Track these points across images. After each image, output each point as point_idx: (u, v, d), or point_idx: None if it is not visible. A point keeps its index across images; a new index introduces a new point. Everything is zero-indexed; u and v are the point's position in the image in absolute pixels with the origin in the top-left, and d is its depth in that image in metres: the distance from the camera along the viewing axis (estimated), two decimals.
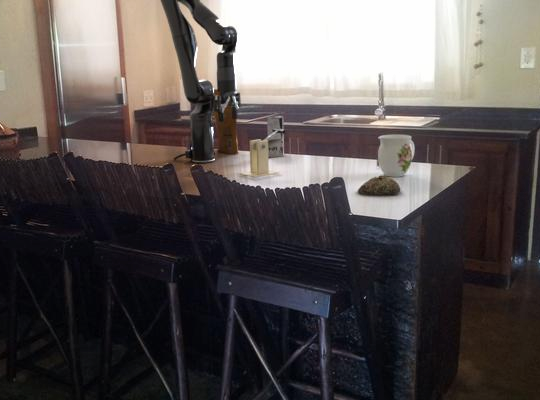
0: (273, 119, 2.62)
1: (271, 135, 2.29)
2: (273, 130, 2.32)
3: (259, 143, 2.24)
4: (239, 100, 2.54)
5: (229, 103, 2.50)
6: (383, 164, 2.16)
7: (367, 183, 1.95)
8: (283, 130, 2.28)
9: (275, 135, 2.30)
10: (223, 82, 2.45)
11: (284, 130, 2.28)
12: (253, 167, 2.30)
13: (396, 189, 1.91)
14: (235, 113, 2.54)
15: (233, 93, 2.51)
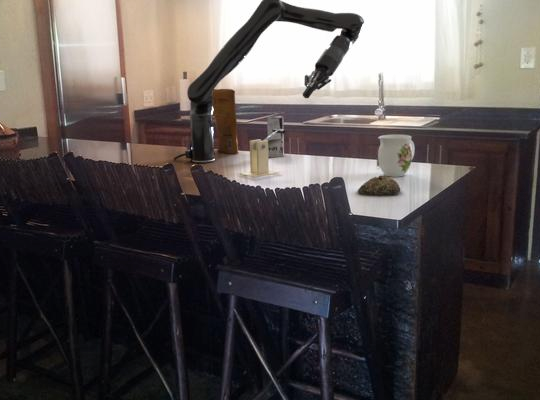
0: (273, 119, 2.62)
1: (271, 135, 2.29)
2: (273, 130, 2.32)
3: (259, 143, 2.24)
4: None
5: None
6: (383, 164, 2.16)
7: (367, 183, 1.95)
8: (283, 130, 2.28)
9: (275, 135, 2.30)
10: (336, 65, 2.35)
11: (284, 130, 2.28)
12: (253, 167, 2.30)
13: (396, 189, 1.91)
14: None
15: None
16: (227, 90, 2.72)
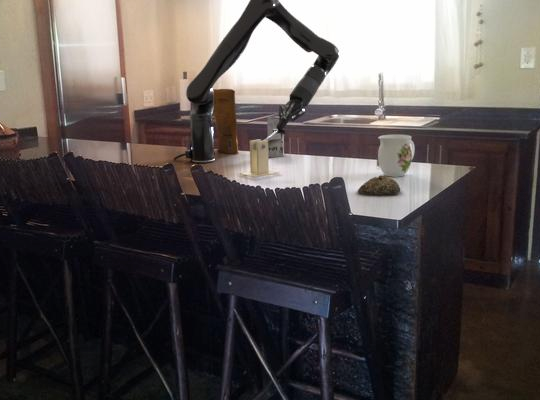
0: (273, 119, 2.62)
1: (271, 135, 2.29)
2: (273, 130, 2.32)
3: (259, 143, 2.24)
4: None
5: None
6: (383, 164, 2.16)
7: (367, 183, 1.95)
8: (283, 130, 2.28)
9: (275, 135, 2.30)
10: (311, 96, 2.31)
11: (284, 130, 2.28)
12: (253, 167, 2.30)
13: (396, 189, 1.91)
14: None
15: None
16: (227, 90, 2.72)
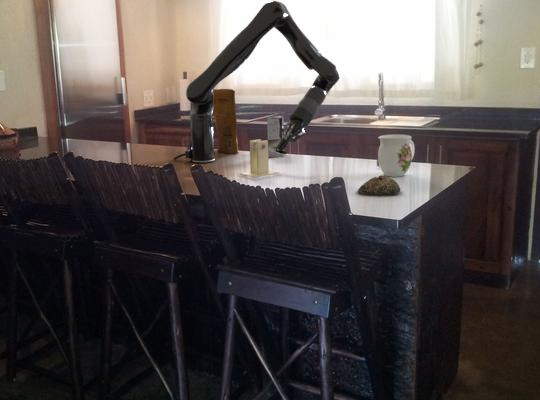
0: (273, 119, 2.62)
1: (273, 148, 2.30)
2: None
3: (259, 143, 2.24)
4: None
5: None
6: (383, 164, 2.16)
7: (367, 183, 1.95)
8: (285, 151, 2.30)
9: (275, 151, 2.31)
10: (311, 117, 2.33)
11: None
12: (253, 167, 2.30)
13: (396, 189, 1.91)
14: None
15: None
16: (227, 90, 2.72)
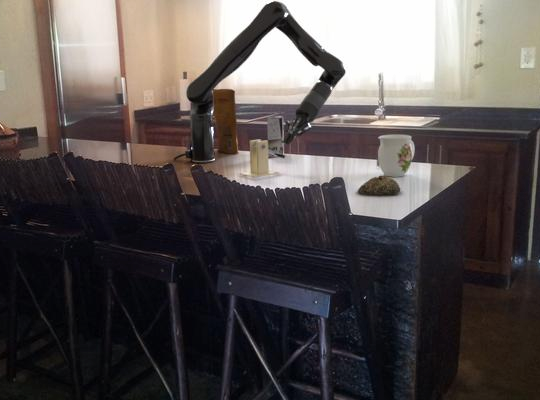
0: (273, 119, 2.62)
1: None
2: None
3: (259, 143, 2.24)
4: None
5: None
6: (383, 164, 2.16)
7: (367, 183, 1.95)
8: (284, 155, 2.30)
9: (274, 154, 2.31)
10: (317, 111, 2.34)
11: (284, 156, 2.31)
12: (253, 167, 2.30)
13: (396, 189, 1.91)
14: None
15: None
16: (227, 90, 2.72)
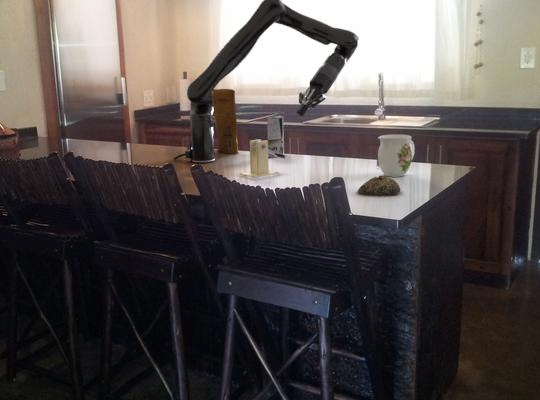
0: (273, 119, 2.62)
1: None
2: None
3: (259, 143, 2.24)
4: None
5: None
6: (383, 164, 2.16)
7: (367, 183, 1.95)
8: (284, 155, 2.30)
9: (274, 154, 2.31)
10: (331, 82, 2.35)
11: (284, 156, 2.31)
12: (253, 167, 2.30)
13: (396, 189, 1.91)
14: None
15: None
16: (227, 90, 2.72)
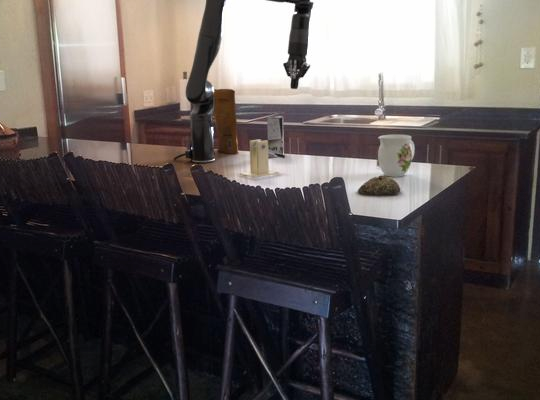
0: (273, 119, 2.62)
1: None
2: None
3: (259, 143, 2.24)
4: None
5: None
6: (383, 164, 2.16)
7: (367, 183, 1.95)
8: (284, 155, 2.30)
9: (274, 154, 2.31)
10: (307, 45, 2.36)
11: (284, 156, 2.31)
12: (253, 167, 2.30)
13: (396, 189, 1.91)
14: None
15: None
16: (227, 90, 2.72)
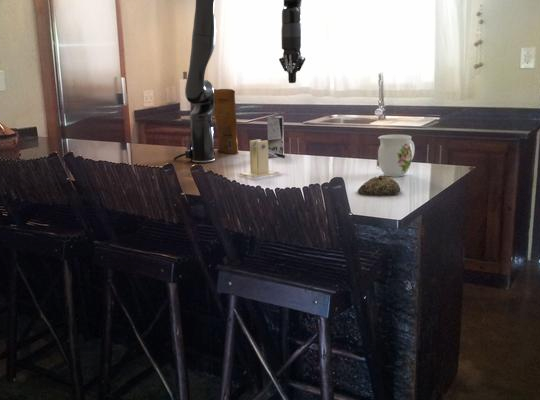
0: (273, 119, 2.62)
1: None
2: None
3: (259, 143, 2.24)
4: None
5: None
6: (383, 164, 2.16)
7: (367, 183, 1.95)
8: (284, 155, 2.30)
9: (274, 154, 2.31)
10: (300, 38, 2.37)
11: (284, 156, 2.31)
12: (253, 167, 2.30)
13: (396, 189, 1.91)
14: None
15: None
16: (227, 90, 2.72)
